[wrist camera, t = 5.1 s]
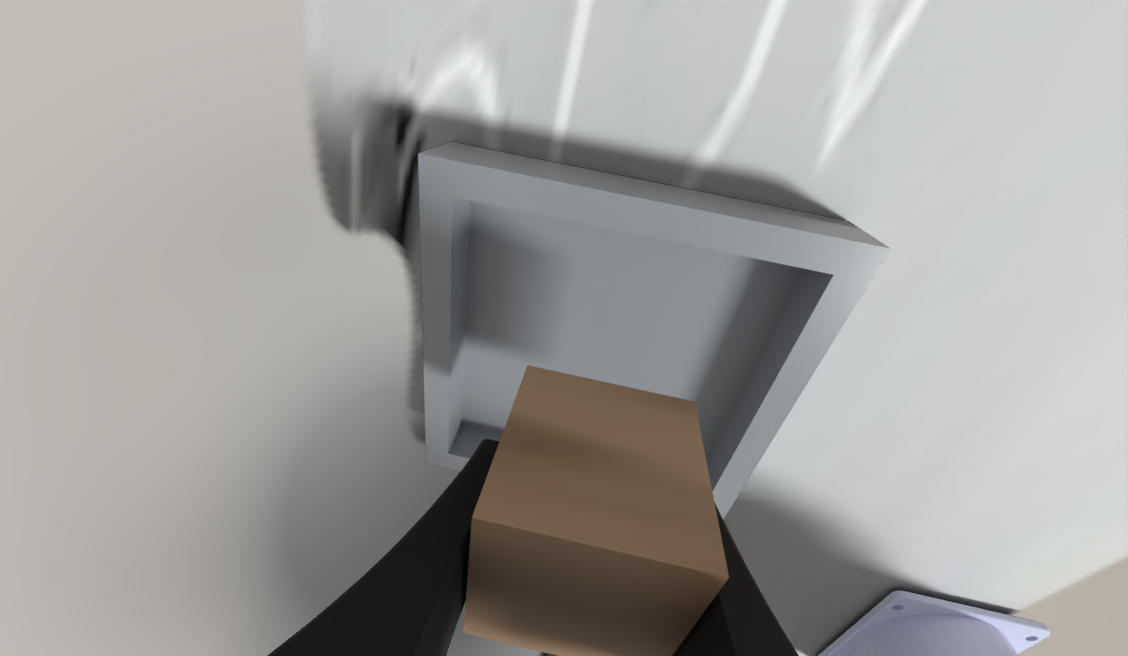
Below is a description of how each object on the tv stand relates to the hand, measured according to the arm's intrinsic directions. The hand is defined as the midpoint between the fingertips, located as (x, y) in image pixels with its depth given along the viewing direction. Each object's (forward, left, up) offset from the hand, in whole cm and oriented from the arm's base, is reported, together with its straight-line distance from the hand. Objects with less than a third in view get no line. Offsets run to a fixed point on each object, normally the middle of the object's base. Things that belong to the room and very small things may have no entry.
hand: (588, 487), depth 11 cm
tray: (0, 0, -7) cm, 7 cm away
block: (0, 0, -2) cm, 2 cm away
